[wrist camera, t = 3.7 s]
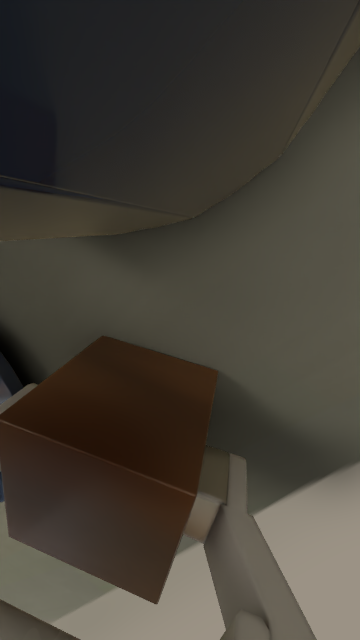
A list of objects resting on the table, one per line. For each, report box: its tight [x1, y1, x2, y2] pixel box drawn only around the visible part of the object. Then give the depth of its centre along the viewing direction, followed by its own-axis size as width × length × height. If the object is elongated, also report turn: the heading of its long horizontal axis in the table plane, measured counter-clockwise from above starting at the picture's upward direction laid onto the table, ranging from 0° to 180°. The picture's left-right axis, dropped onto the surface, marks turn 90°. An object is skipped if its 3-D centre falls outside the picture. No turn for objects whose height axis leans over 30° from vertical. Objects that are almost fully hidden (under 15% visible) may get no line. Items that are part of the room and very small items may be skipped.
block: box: [0, 336, 218, 604], centre depth 8 cm, size 4×4×4 cm
